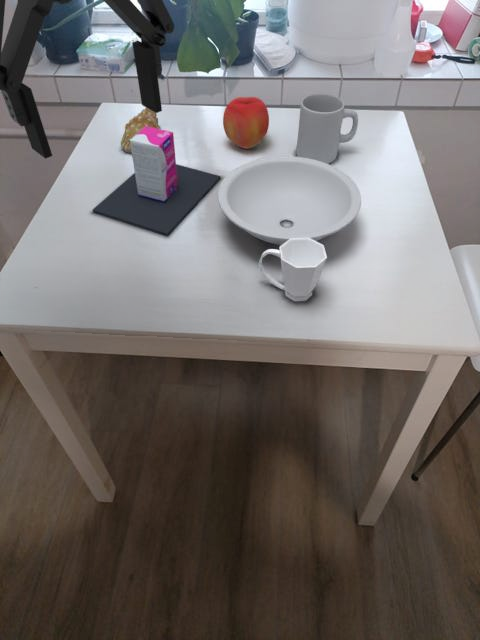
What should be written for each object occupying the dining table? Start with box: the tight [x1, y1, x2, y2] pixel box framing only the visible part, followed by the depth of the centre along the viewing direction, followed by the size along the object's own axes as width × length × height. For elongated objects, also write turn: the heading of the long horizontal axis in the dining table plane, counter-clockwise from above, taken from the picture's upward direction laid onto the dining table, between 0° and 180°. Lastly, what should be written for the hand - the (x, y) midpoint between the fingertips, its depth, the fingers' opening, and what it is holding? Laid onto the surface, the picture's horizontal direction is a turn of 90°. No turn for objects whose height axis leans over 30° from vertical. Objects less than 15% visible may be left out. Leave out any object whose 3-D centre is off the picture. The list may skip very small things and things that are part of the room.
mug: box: [295, 93, 359, 165], centre depth 99 cm, size 12×8×11 cm
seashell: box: [120, 107, 162, 154], centre depth 105 cm, size 9×8×10 cm
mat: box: [92, 163, 221, 237], centre depth 93 cm, size 16×20×1 cm
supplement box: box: [130, 126, 178, 203], centre depth 88 cm, size 6×6×12 cm
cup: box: [257, 238, 328, 302], centre depth 73 cm, size 7×10×8 cm
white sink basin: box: [217, 155, 362, 246], centre depth 84 cm, size 24×24×7 cm
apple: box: [222, 96, 270, 150], centre depth 102 cm, size 10×10×10 cm
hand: (100, 129), depth 52 cm, fingers open, 13 cm apart
